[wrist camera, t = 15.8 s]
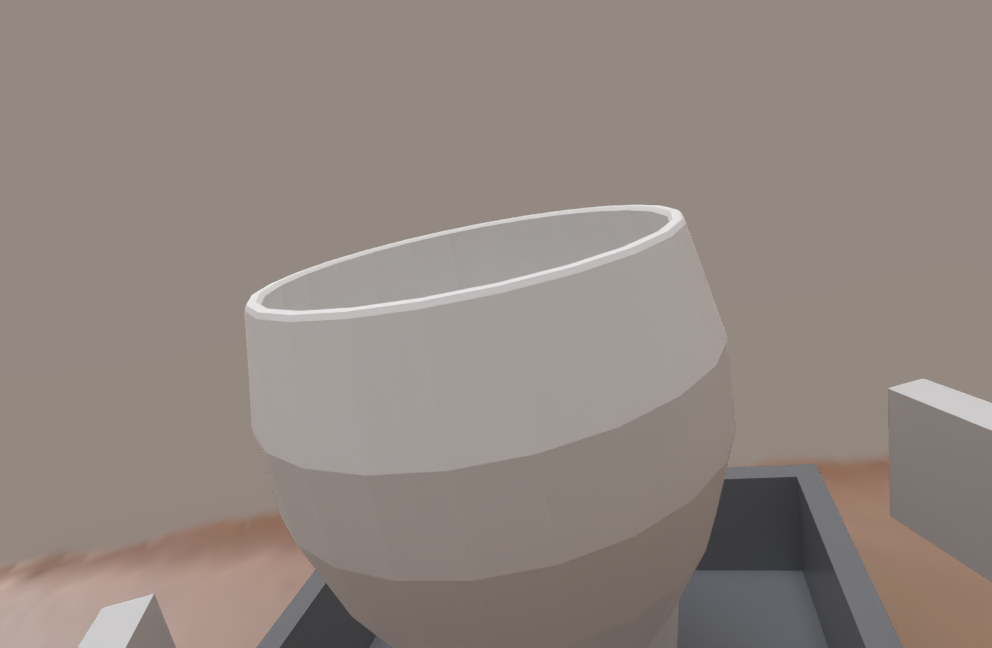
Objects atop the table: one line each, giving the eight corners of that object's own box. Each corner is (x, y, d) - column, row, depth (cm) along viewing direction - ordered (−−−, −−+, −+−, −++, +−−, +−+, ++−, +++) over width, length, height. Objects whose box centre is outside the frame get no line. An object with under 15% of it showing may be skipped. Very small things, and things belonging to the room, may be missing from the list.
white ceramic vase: (354, 713, 21) (215, 282, 17) (615, 579, 24) (552, 201, 20) (471, 1151, 11) (207, 383, 7) (872, 819, 15) (848, 194, 11)
